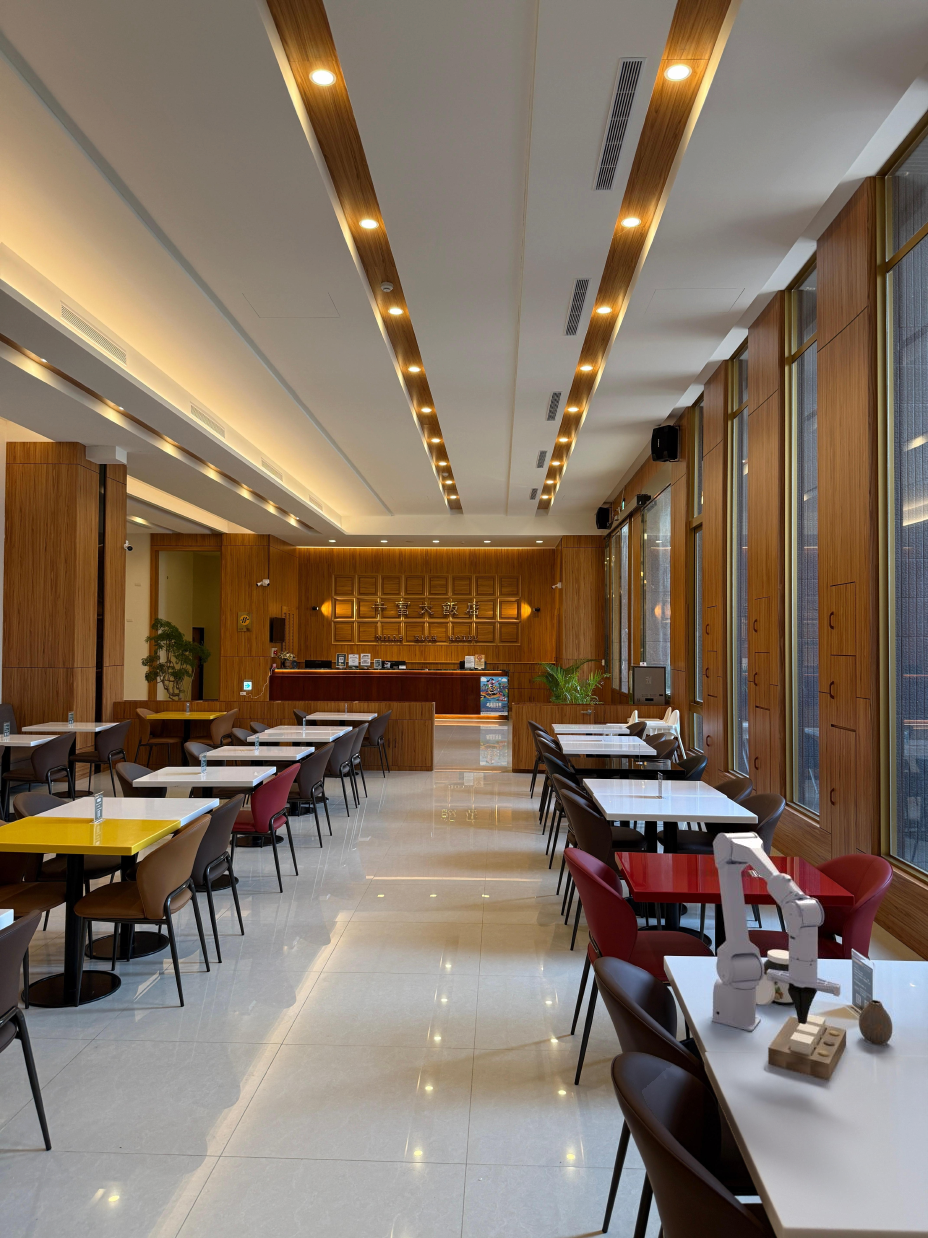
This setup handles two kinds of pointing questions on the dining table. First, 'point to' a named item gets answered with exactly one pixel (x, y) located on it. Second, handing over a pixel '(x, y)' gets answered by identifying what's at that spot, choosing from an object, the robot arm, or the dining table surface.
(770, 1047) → the button board
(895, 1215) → the dining table surface
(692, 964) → the dining table surface
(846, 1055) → the dining table surface
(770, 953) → the spread jar
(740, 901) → the robot arm
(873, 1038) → the vase
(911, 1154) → the dining table surface
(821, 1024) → the button
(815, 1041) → the button middle
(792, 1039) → the button
